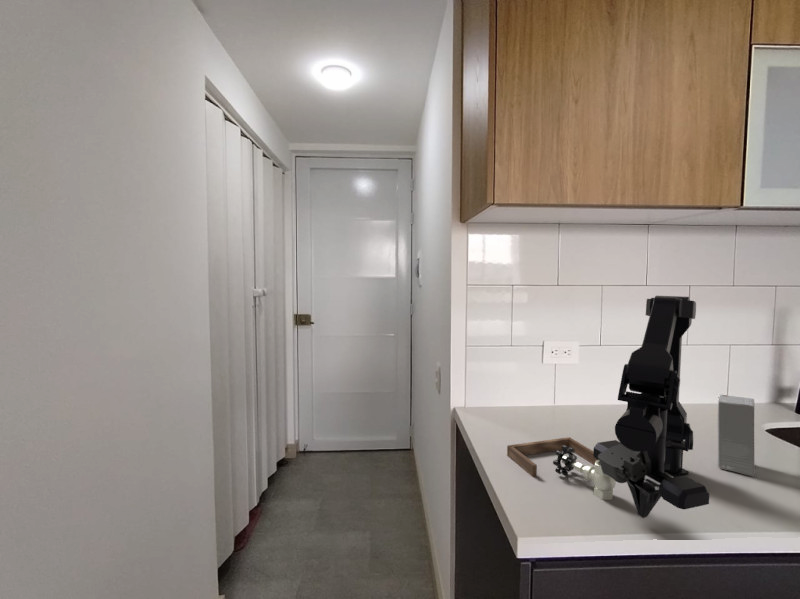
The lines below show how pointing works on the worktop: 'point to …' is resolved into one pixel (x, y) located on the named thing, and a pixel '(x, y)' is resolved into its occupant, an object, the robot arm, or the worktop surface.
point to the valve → (586, 473)
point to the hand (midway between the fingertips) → (642, 516)
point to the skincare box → (736, 434)
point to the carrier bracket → (520, 450)
